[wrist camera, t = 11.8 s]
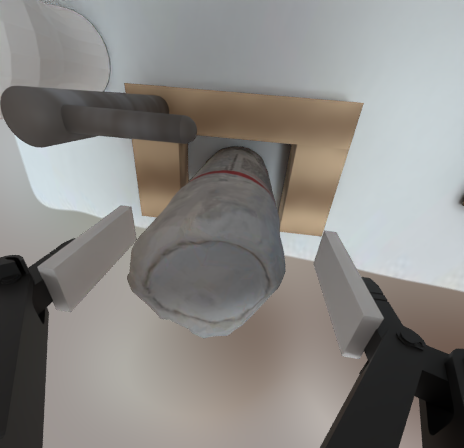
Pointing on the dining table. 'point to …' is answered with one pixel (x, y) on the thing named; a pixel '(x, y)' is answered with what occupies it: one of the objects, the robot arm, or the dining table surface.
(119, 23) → the dining table surface
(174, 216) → the spray can
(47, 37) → the cup
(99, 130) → the wooden stand
